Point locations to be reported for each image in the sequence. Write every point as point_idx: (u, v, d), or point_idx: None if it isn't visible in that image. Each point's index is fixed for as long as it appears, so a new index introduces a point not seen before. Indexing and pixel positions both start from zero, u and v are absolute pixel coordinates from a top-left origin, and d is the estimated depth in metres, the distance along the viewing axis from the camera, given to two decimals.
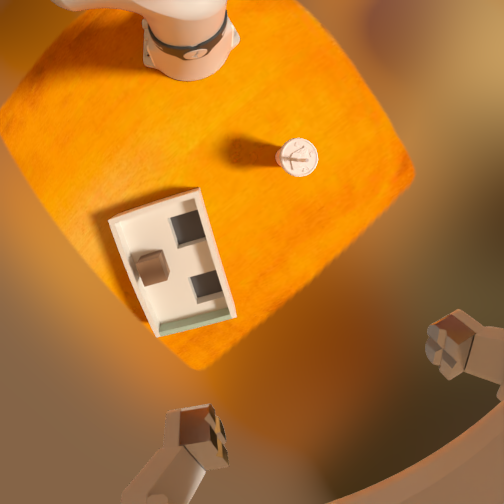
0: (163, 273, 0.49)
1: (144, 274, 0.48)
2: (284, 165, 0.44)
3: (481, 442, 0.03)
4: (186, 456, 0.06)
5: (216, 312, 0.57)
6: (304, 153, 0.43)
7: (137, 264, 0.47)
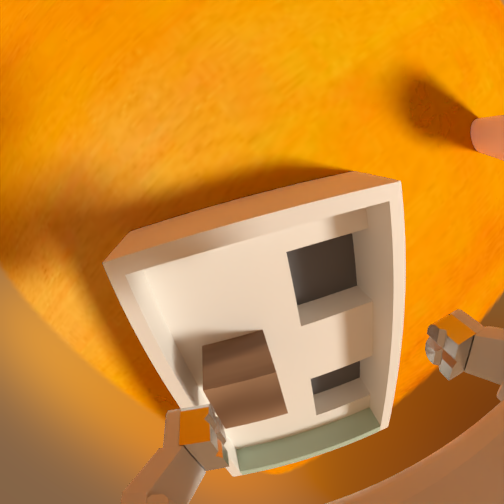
0: (281, 402, 0.17)
1: (228, 408, 0.16)
2: None
3: (481, 442, 0.03)
4: (186, 456, 0.06)
5: (349, 422, 0.25)
6: None
7: (209, 390, 0.16)
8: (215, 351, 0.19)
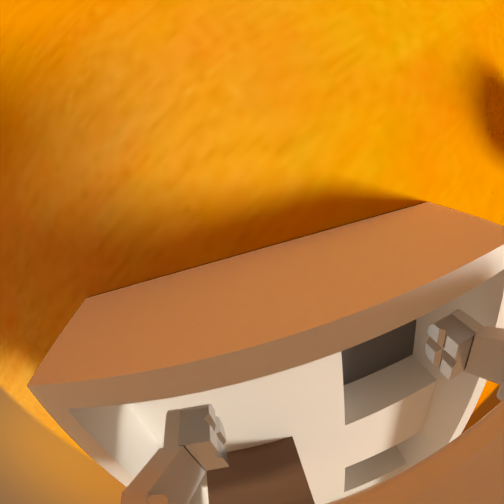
0: None
1: None
2: None
3: (481, 442, 0.03)
4: (186, 456, 0.06)
5: None
6: None
7: None
8: (225, 468, 0.11)
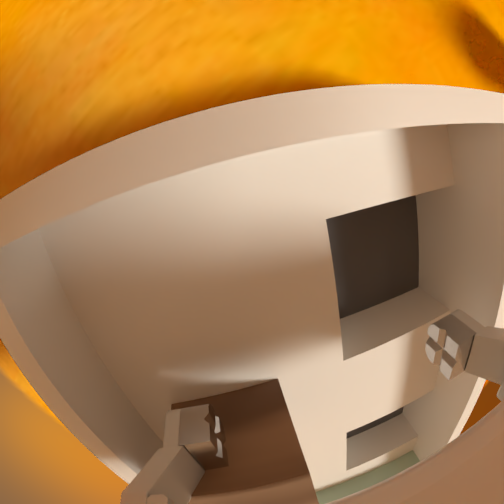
0: (312, 500, 0.07)
1: None
2: None
3: (481, 442, 0.03)
4: (186, 456, 0.06)
5: (388, 472, 0.15)
6: None
7: None
8: None
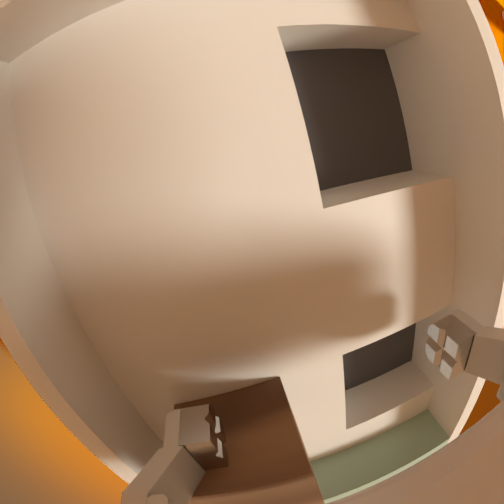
0: (317, 498, 0.07)
1: None
2: None
3: (481, 442, 0.03)
4: (186, 456, 0.06)
5: (399, 436, 0.13)
6: None
7: None
8: None
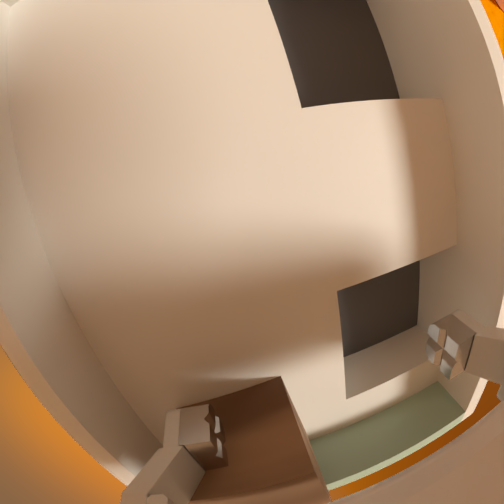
0: (323, 498, 0.07)
1: None
2: None
3: (481, 442, 0.03)
4: (186, 456, 0.06)
5: (407, 411, 0.12)
6: None
7: None
8: None
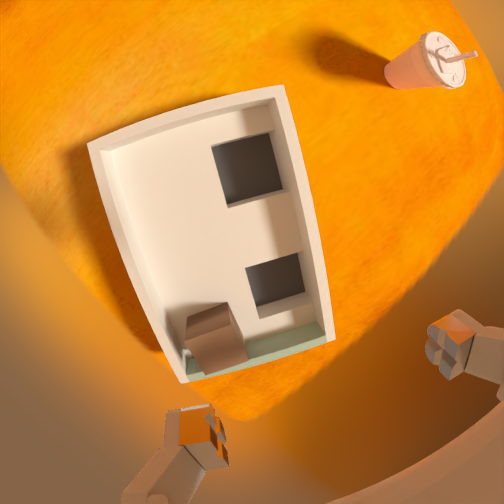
0: (241, 350, 0.25)
1: (204, 356, 0.25)
2: (431, 62, 0.18)
3: (481, 442, 0.03)
4: (186, 456, 0.06)
5: (295, 332, 0.30)
6: (451, 54, 0.17)
7: (188, 341, 0.24)
8: (195, 318, 0.28)
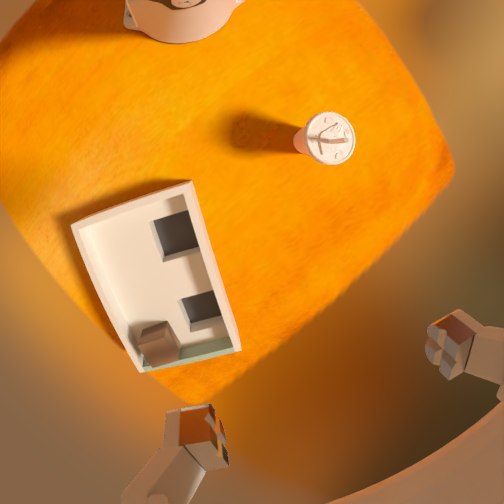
0: (172, 353, 0.38)
1: (150, 355, 0.38)
2: (311, 148, 0.30)
3: (481, 442, 0.03)
4: (186, 456, 0.06)
5: (215, 343, 0.43)
6: (338, 132, 0.30)
7: (139, 346, 0.37)
8: (146, 331, 0.40)
